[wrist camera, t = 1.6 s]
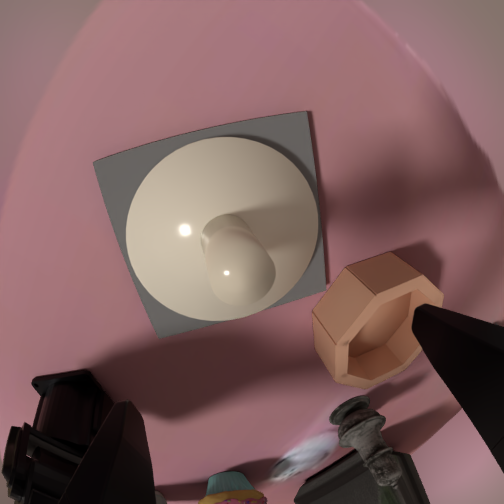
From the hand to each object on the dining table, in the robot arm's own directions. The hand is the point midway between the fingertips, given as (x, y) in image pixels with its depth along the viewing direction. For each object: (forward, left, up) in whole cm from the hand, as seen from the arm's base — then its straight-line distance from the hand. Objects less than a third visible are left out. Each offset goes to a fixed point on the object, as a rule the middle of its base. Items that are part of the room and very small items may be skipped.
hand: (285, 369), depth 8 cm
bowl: (+10, -10, -11) cm, 18 cm away
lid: (0, 0, -11) cm, 11 cm away
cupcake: (-8, -33, -12) cm, 36 cm away
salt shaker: (+9, -25, -12) cm, 29 cm away
